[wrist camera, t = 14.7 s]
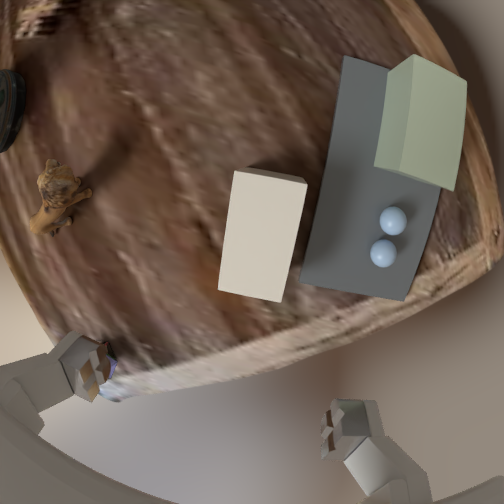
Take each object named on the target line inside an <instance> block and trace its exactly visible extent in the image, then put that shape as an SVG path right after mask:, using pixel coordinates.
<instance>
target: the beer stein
mask: <svg viewBox="0 0 504 504" xmlns="http://www.w3.org/2000/svg"><path fill="white" fill-rule="evenodd" d="M25 98H26V88H25V81H24V79H23V78H22V76H21V74H19V73H15V72H12V71H10V70H7V69H3V70H0V153H2V152H4V151H6V150H7V149H8V148H9V147H10V146H11V144H12V143H13V142H14V139H15V137H16V135H17V133H18V131H19V128H20V125H21V121H22V118H23V114H24V108H25Z"/></svg>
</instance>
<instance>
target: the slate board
mask: <svg viewBox="0 0 504 504" xmlns="http://www.w3.org/2000/svg"><path fill="white" fill-rule="evenodd" d="M390 71H391V70H389V69H387V68H384V67H381V66H378V65H375V64H372V63H369V62H366V61H363V60H360V59H356V58H353V57H349V56H346V55H344V56H343V58H342V66H341V73H340V80H339V87H338V93H337V100H336V106H335V112H334V118H333V124H332V129H331V135H330V140H329V146H328V151H327V156H326V161H325V166H324V171H323V176H322V181H321V186H320V191H319V195H318V200H317V204H316V209H315V213H314V218H313V222H312V226H311V231H310V235H309V239H308V243H307V247H306V251H305V255H304V259H303V263H302V267H301V271H300V275H299V283H304V284H309V285H314V286H320V287H325V288H330V289H336V290H341V291H347V292H352V293H358V294H363V295H369V296H375V297H380V298H386V299H392V300H398V301H404V300H405V298H406V295H407V293H408V290H409V288H410V285H411V283H412V280H413V278H414V275H415V273H416V270H417V267H418V264H419V262H420V259H421V256H422V253H423V250H424V247H425V244H426V241H427V238H428V234H429V231H430V228H431V224H432V221H433V217H434V214H435V210H436V206H437V202H438V198H439V194H440V190H441V187H437V186H434V185H431V184H427V183H423V182H420V181H417V180H414V179H412V178H409V177H406V176H403V175H400V174H397V173H394V172H391V171H387V170H384V169H381V168H378V167H374V162H375V156H376V151H377V146H378V140H379V135H380V129H381V122H382V116H383V109H384V102H385V94H386V85H387V76H388V72H390ZM392 206H393V207H398V208H400V209H401V210H402V211H403V212H404V213H405V215H406V219H407V224H406V227H405V229H404V231H403V232H402V233H400V234H398V235H389V234H387V233H386V232H384V231H383V229H382V228H381V225H380V216H381V213H382V212H383V211H384V210H385V209H386V208H388V207H392ZM382 239H385V240H389V241H391V242H392V243H393V244H394V245H395V247H396V251H397V256H396V259H395V261H394V263H393V264H392V265H390V266H388V267H379V266H377V265H375V264H374V262H373V261H372V259H371V256H370V251H371V248H372V246H373V244H374V243H375V242H376V241H378V240H382Z"/></svg>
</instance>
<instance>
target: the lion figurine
mask: <svg viewBox="0 0 504 504" xmlns="http://www.w3.org/2000/svg"><path fill="white" fill-rule="evenodd" d="M60 165H61V164H60V162H57V161H56V160H51V159H49V160H48V161H47V165H46V168H45V170H44V171H43V173H42V174H40V175H39V179H38V180H37V184H38V185H39V191H40V193H41V196H42V198H43V204H42V206H41V208H40V210H39V212H38V213H36V214H34V215H33V216H32V217H31V219H30V230H31V231H32V232H33V233H35V234H38V235H40V234H46V233H48V232H50V234H51V236H52V237H53V236H54V231H53V230H54V229H56V228H58V227H62V226H65V225H71V224H72V220H71V218H70V217H68V218H66V219H65V220H64V221H62V222H58V223H52V222H53V221H55V220H56V219H58V218H59V217H60V216H61V215H62V214H63V212H64V211H65V209H66V207H68V206H70V205H72V204H74V203H76V202H78V201H80V200H82V199H84V198H89V197H91V196H92V190H91V189H89V188H88V189H87V190H84V191H83V192H81V193H78V194H76V192H77V188H78V187H79V185H80V183H81V181H80V178H74V175H73V171H72V169H71V168H70V167H69V166H67V165H63V166H60Z"/></svg>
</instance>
